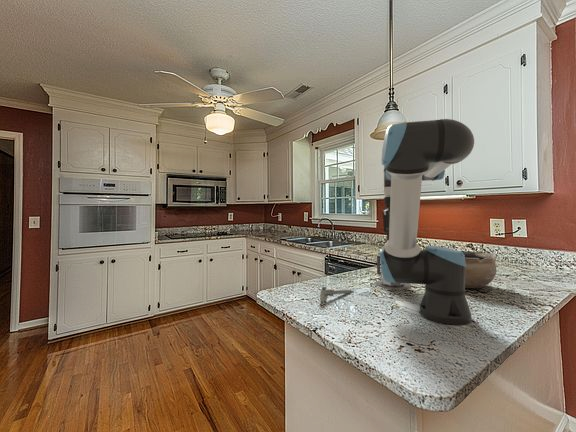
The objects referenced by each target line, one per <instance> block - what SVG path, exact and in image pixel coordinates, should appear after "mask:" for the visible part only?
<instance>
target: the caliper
mask: <svg viewBox="0 0 576 432" xmlns="http://www.w3.org/2000/svg"><path fill="white" fill-rule="evenodd" d="M353 292H354V290H352V289H333V288H331V289H329V288H327V287H326V286H322V287H321V290H320V293H319V301H320V303H327V300H328V297H334V295H342V294H343V295H344V294H352V293H353Z"/></svg>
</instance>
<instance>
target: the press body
mask: <svg viewBox="0 0 576 432" xmlns="http://www.w3.org/2000/svg"><path fill="white" fill-rule="evenodd" d="M376 274H377V275H380V277H381V278H380V280H381V282H382V285H384V286H388V287H403V286H404V285H405V283H394V282H387V281H385V280H384V279H383V275H382V268H381V260H380V252H378V254H377V255H376Z"/></svg>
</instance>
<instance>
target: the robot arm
mask: <svg viewBox="0 0 576 432" xmlns="http://www.w3.org/2000/svg"><path fill="white" fill-rule="evenodd" d="M382 143H383V144H382V151H381V165H382V166H383V188H384V189H383V196H384V197H383V205H384V206H386V207H385V209H384V210H381V211H382V212H381V214H382V219H383V220H382V222H383V232H384V234H386V242H385V243H384V246H383V248H380V249H379V252H378V253H380V255H379V256H380V269H381V268H382V275H383V279H384V280H385V281H387V282H394V283H409V284H410V285H412V284H415V285H425V289H424V290H425V291H424V293H423V296H422V299H421V302H420V304H419V313H420V315H421V316H423V317H424V318H425V319H427V320H430V321H433V322H436V323H440V324H446V325H453V326H454V325H455V326H461V325H462V326H463V325H467V324H470V323H471V322H472V312H471V309H470V307H469V306H470V305H469V303H468V301H467V300H468V299H467V297H466V288H465V267H466V264H465V256H464V254H463V253H462V252H461V251H462V250H458V249H454V248H451V247H450V248H449V247H445V246H444V247H443V246H438V245H426V246H425V247H424V249H421V248H422V247H421V246H420V245H419V244H418V243H417V241H418V240H417V238H418V229H419V218H420V217H419V216H420V205H421V194H422V193H421V192H422V182H423V181H433V182H434V181H441V180H443V179H444V177H445V175H446V174H445V173H446V169H448V168H449V167H450V166H451V165H453V164H454V165H455V164H458V163H460V162H462V161H464V160H465V159H466V158H468V157H469V155H471V154H472V151H473V149H474V146H475V137H474V134H473V132H472V130H471V129H470V128H469V127H468V126H467V125H466V124H464V123H463V122H461V121H459V120H455V119H452V118H441V119H433V120H432V119H431V120H422V121H420V120H419V121H403V122H399V123H394V124H390V125H389V126H388V127H387V129H386V131H385V135H384V137H383V142H382Z"/></svg>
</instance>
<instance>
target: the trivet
mask: <svg viewBox="0 0 576 432" xmlns="http://www.w3.org/2000/svg"><path fill="white" fill-rule="evenodd" d="M374 284H375V286H377V287H379V288H383V289H387V290H395V291H396V290H409V289H410V288H412V284H410V283H405V285H404V286H403V287H388V286H384V285H382V282H381V279H379V280H376V281H375V282H374Z"/></svg>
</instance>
